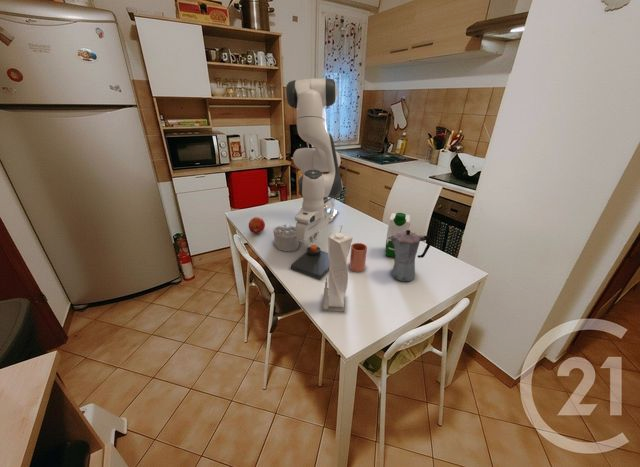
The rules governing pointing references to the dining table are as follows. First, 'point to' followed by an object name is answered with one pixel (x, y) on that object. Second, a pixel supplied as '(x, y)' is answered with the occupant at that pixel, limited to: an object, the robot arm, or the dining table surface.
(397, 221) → the milk carton
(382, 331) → the dining table surface
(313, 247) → the button
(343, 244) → the skyscraper
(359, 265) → the cup
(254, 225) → the apple
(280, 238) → the lumpy-topped squat cylinder
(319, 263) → the dark grey flat block
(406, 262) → the moka pot
